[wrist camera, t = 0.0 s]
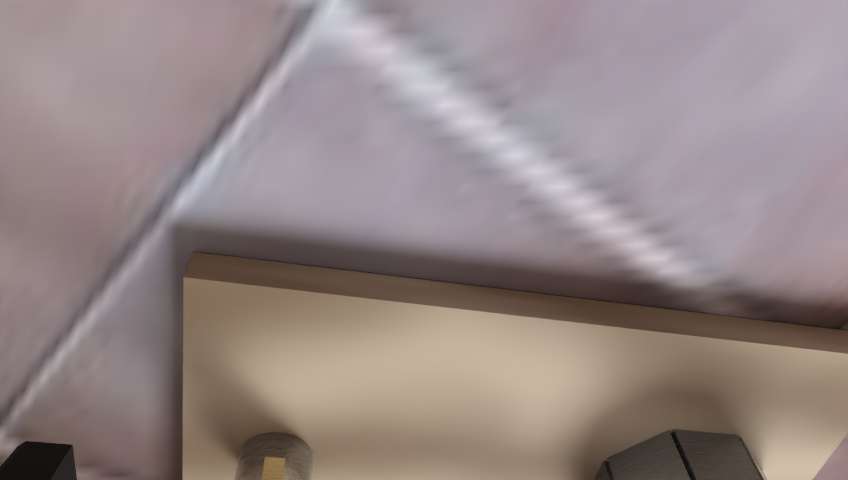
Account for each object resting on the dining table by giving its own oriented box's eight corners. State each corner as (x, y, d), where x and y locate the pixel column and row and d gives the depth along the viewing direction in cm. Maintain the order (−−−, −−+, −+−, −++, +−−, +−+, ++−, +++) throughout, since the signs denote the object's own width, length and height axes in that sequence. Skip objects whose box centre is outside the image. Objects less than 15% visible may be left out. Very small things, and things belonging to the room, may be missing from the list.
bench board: (708, 574, 31) (719, 601, 30) (189, 543, 27) (182, 572, 26) (880, 334, 23) (902, 360, 22) (192, 251, 20) (183, 277, 19)
